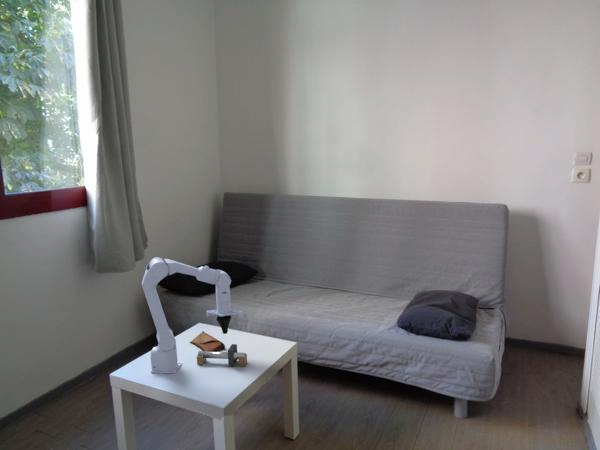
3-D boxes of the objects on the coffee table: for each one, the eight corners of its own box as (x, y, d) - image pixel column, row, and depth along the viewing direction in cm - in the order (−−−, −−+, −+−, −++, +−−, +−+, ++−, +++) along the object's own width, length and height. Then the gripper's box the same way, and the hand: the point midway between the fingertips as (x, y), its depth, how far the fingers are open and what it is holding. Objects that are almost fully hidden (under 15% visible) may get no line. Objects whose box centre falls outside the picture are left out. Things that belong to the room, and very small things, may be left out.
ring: (228, 365, 177) (227, 350, 176) (232, 359, 183) (231, 344, 182) (233, 366, 177) (232, 350, 176) (237, 359, 182) (236, 344, 181)
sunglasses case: (187, 342, 201) (193, 327, 203) (200, 345, 206) (205, 331, 207) (208, 355, 188) (214, 339, 189) (221, 358, 193) (227, 343, 194)
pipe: (197, 364, 180) (196, 353, 179) (200, 360, 184) (200, 348, 183) (244, 366, 177) (243, 355, 176) (247, 362, 181) (246, 350, 180)
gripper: (202, 304, 179) (205, 336, 182) (238, 304, 177) (240, 337, 180) (208, 298, 186) (210, 329, 188) (242, 298, 184) (244, 330, 187)
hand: (225, 332), depth 185 cm, fingers closed
